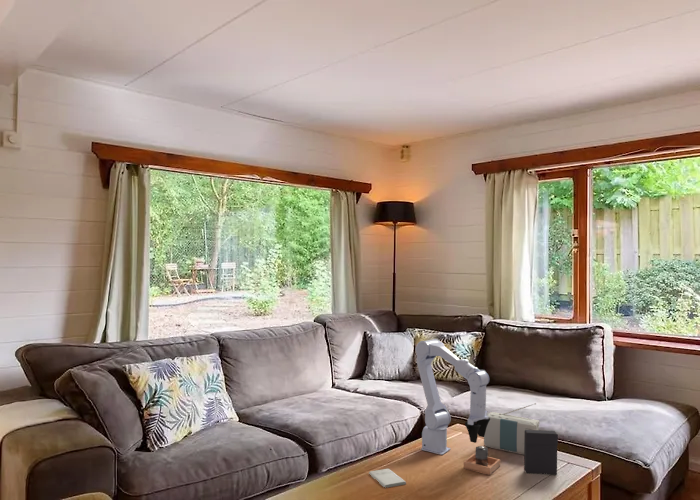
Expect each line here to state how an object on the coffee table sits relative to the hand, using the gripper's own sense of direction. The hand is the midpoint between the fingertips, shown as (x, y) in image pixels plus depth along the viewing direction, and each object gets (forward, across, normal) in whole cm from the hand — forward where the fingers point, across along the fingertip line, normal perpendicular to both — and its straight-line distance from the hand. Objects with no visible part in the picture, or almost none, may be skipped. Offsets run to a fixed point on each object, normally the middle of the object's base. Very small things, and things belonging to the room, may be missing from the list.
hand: (477, 439), depth 206 cm
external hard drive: (+10, -32, +20) cm, 39 cm away
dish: (+9, -2, -3) cm, 10 cm away
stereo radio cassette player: (+10, +22, -6) cm, 25 cm away
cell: (+9, -2, -3) cm, 9 cm away
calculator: (+9, +6, -22) cm, 24 cm away
